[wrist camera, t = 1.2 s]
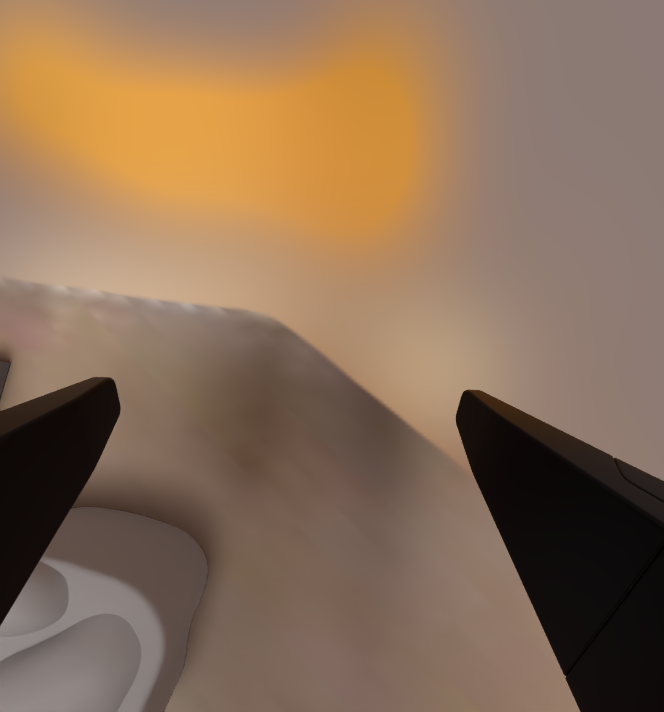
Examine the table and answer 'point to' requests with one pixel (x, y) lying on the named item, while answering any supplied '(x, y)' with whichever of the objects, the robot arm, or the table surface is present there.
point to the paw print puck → (102, 617)
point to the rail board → (3, 374)
